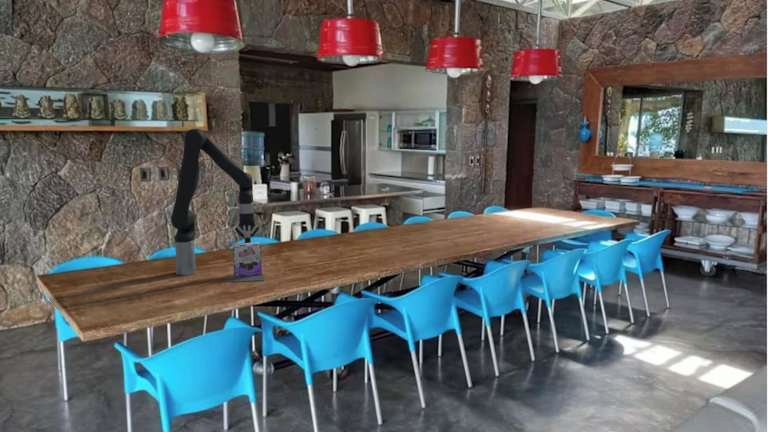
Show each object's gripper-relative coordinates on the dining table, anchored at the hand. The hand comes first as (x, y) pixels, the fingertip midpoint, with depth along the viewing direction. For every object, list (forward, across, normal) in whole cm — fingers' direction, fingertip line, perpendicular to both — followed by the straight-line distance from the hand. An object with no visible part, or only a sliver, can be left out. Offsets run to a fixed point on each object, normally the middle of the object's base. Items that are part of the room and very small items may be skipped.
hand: (247, 244), depth 280 cm
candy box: (+15, 0, -6) cm, 16 cm away
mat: (+14, 0, -15) cm, 21 cm away
